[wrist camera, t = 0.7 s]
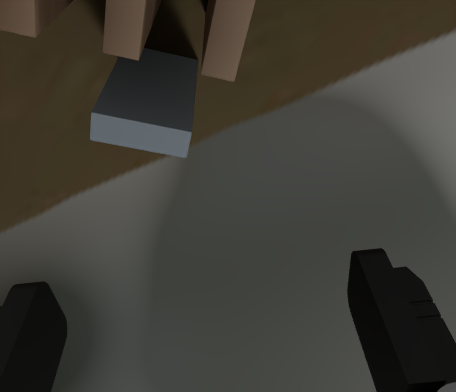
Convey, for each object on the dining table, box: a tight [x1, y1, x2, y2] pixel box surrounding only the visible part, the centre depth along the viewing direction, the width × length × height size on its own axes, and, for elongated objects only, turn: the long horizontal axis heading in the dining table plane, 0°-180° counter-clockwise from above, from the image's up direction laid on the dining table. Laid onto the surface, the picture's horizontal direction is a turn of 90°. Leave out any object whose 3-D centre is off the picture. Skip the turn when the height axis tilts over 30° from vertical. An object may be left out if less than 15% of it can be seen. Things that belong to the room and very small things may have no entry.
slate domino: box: [90, 48, 198, 158], centre depth 26 cm, size 2×5×10 cm, turn 77°
